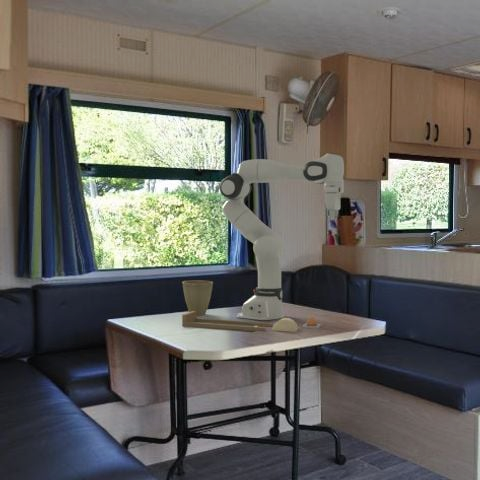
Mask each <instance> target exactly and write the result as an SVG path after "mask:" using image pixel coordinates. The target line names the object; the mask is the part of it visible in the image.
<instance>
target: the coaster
mask: <svg viewBox="0 0 480 480" xmlns="http://www.w3.org/2000/svg"><path fill="white" fill-rule="evenodd" d="M321 327H322V323H316V325H315V326H309V325H308V324H307V322H305V323H304V324H302V326H301V328H302V329H313V330H314V329H315V330H319V329H320V328H321Z"/></svg>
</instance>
